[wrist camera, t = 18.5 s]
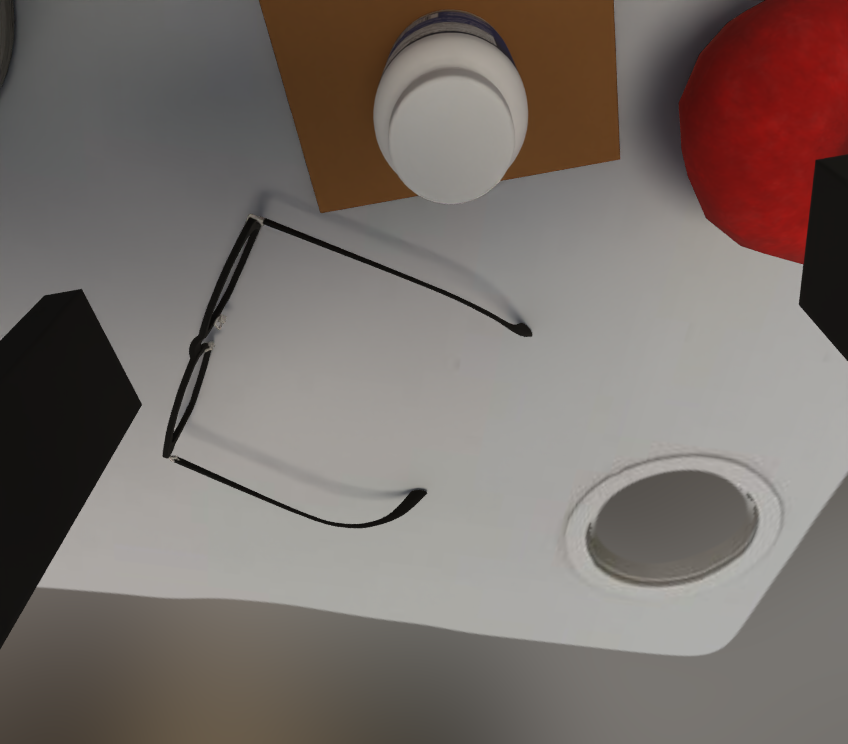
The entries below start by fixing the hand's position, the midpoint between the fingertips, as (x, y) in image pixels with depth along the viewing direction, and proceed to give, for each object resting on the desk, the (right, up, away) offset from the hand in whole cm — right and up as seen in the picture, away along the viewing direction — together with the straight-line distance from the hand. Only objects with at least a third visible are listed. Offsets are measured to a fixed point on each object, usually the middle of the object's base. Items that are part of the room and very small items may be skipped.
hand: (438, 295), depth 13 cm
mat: (+1, +11, +17) cm, 21 cm away
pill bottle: (+1, +11, +17) cm, 21 cm away
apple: (+14, +11, +17) cm, 25 cm away
